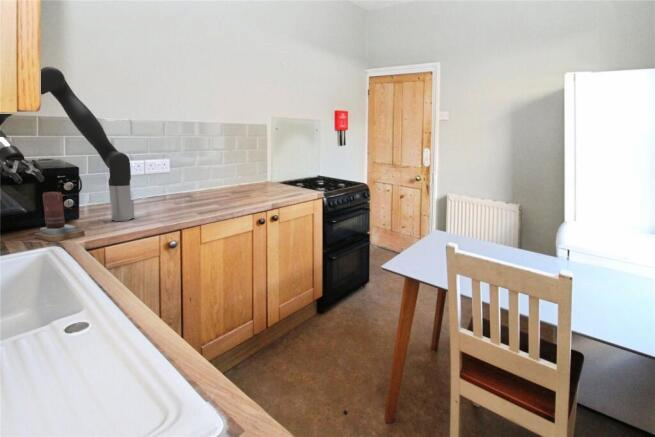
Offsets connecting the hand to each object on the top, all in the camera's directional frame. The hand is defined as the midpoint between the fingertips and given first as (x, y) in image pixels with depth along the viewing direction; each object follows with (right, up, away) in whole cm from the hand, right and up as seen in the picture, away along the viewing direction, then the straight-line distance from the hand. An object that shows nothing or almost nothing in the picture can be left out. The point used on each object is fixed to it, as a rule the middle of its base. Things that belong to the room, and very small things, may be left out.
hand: (32, 181), depth 149 cm
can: (+9, -18, 0) cm, 21 cm away
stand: (+10, -22, +1) cm, 24 cm away
